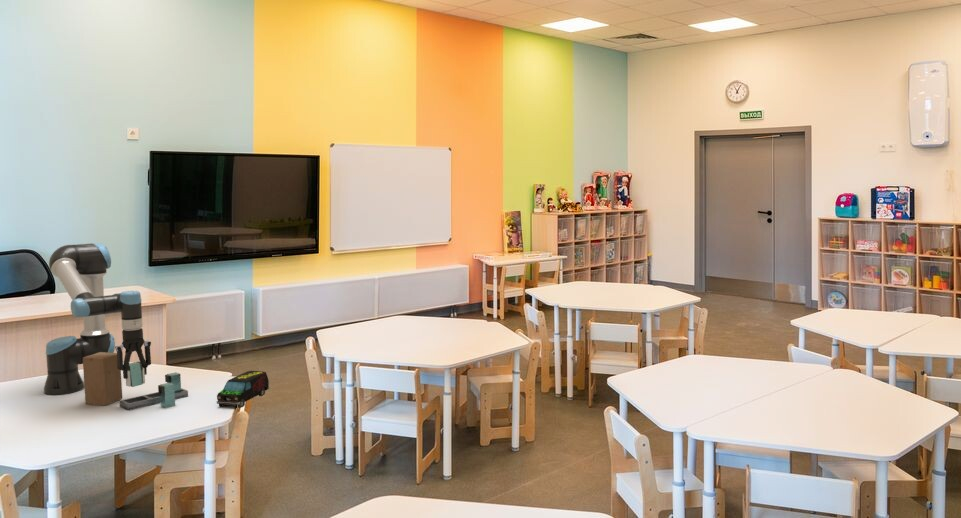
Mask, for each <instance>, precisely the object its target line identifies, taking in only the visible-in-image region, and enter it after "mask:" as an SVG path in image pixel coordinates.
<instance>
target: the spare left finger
mask: <svg viewBox="0 0 961 518" xmlns="http://www.w3.org/2000/svg"><path fill="white" fill-rule="evenodd" d="M157 392H159V393H160V394H161V403H160V406H161V407H163V408H165V409H167V408H170V407H174V406H175V407H176V399H175V391H174V384H172V383H167V382H165V383H162V384H161V383H160V384H159V385H157Z"/></svg>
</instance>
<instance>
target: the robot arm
mask: <svg viewBox="0 0 961 518" xmlns="http://www.w3.org/2000/svg"><path fill="white" fill-rule="evenodd" d="M111 265H112V258H111V253H110V250H109V249H108V247H107V246H106V244H103V243H80V244H79V243H78V244H65V245H63V246H60V247H58V248H57V249H55V250H54V251H53V252H52V254H51V255H50V258H49V261H48V267H49V270H50V272H51V274H52V275H53V276H55V277H57V278H58V279H59V281H60V282H61V285H62V286H63V287H64V289H65V290H66V292H67V294H68V296H69V297H70V299H71V302H70V312H71V315H72V316H73V317H75V318H82V319H83V330H82V331H81V332H80V333H79V335H80V337H79V338H77V337H76V336H74V335H68V336H66V335H65V336H60V337H57V338H54V339H51V340H49V341H47V343H46V345H45V355H46V369H47V376H46V380H45V383H44V386H43V393H44V394H45V395H50V396H52V395H53V396H56V395H58V396H60V395H66V394H73V393H75V392H79V391H82V389H85V388H84V380H83V379H82V377H81V375H80V372H79V365H83V357H86V356H89V355H93V354H96V353H99V352H107V353H115V351H116V353H117V366H118V369H119V370H121V372H122V375H123V376H122V378H123V379H124V380H125V385H126V387H129V388H130V387H131V381H130V371H129V370H128V367H129V363H131V362H130V361H131V357H132V354H133V352H135V353H137V354H136V355H137V357H138V361H139V362H142V368H143V370H141V376H142V385H143V384H146V375H147V374H148V372H147V368H148V366H151V365H152V357H151V355H152V354H151V345H152V342H151V341H148V340H145V339H144V330H143V328H142V327H143V311H142V297H141V296H142V295H141V292H140V291H138V290H126V291H121V292H120V293H118V292H116V293H113V294H110V295H105V293H104V292H105V291H104V276H105V275H106V274H107V269H110V268H111ZM117 313H120V317H121V329H122V332H121V333H122V343H121V344H119V345H116V340H115V337H114V335H113V334H112V333H110V330H109V329H108V328H107V327H106V315H108V314H117ZM143 346H144V353H143V349H142V347H143ZM124 349H125V355H124V357H123V350H124Z"/></svg>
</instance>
